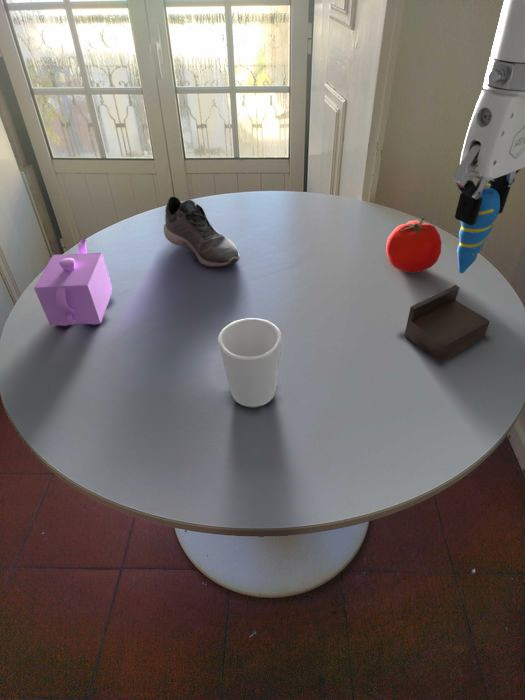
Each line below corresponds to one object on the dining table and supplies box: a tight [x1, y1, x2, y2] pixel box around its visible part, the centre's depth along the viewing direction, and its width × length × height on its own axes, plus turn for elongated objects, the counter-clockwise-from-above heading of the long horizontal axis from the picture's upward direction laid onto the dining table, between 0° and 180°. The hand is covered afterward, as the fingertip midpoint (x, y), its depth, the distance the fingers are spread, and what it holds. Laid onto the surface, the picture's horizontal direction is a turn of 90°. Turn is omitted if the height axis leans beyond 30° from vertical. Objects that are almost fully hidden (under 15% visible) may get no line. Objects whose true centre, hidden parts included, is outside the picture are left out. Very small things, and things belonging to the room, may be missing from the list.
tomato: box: [385, 217, 442, 274], centre depth 104 cm, size 12×12×11 cm
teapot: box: [33, 238, 114, 327], centre depth 96 cm, size 20×10×12 cm, turn 2°
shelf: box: [404, 284, 491, 363], centre depth 87 cm, size 9×12×7 cm
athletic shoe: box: [163, 196, 241, 268], centre depth 113 cm, size 10×26×12 cm, turn 39°
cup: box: [217, 317, 283, 410], centre depth 76 cm, size 10×10×13 cm
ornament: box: [456, 180, 500, 274], centre depth 70 cm, size 5×5×15 cm
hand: (478, 214), depth 68 cm, fingers closed on ornament, 5 cm apart
